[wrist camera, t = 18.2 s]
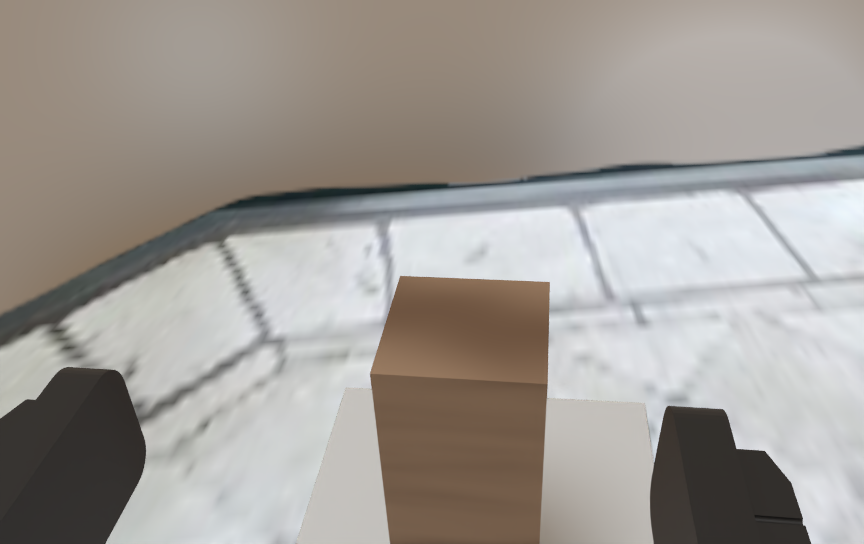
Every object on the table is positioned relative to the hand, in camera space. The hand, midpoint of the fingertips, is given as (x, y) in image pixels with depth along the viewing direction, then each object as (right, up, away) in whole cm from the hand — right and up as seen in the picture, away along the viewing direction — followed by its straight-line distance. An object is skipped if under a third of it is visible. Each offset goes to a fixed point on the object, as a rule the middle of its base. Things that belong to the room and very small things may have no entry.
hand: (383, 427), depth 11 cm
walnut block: (+2, -11, +20) cm, 23 cm away
